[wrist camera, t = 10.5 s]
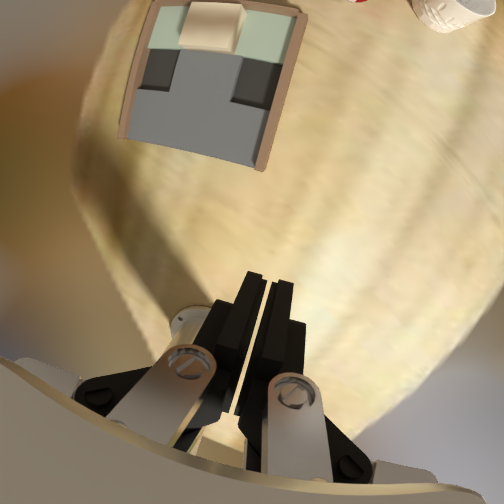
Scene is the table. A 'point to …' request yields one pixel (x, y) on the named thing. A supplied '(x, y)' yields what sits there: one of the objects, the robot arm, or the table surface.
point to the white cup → (452, 12)
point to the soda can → (356, 1)
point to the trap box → (212, 84)
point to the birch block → (213, 27)
